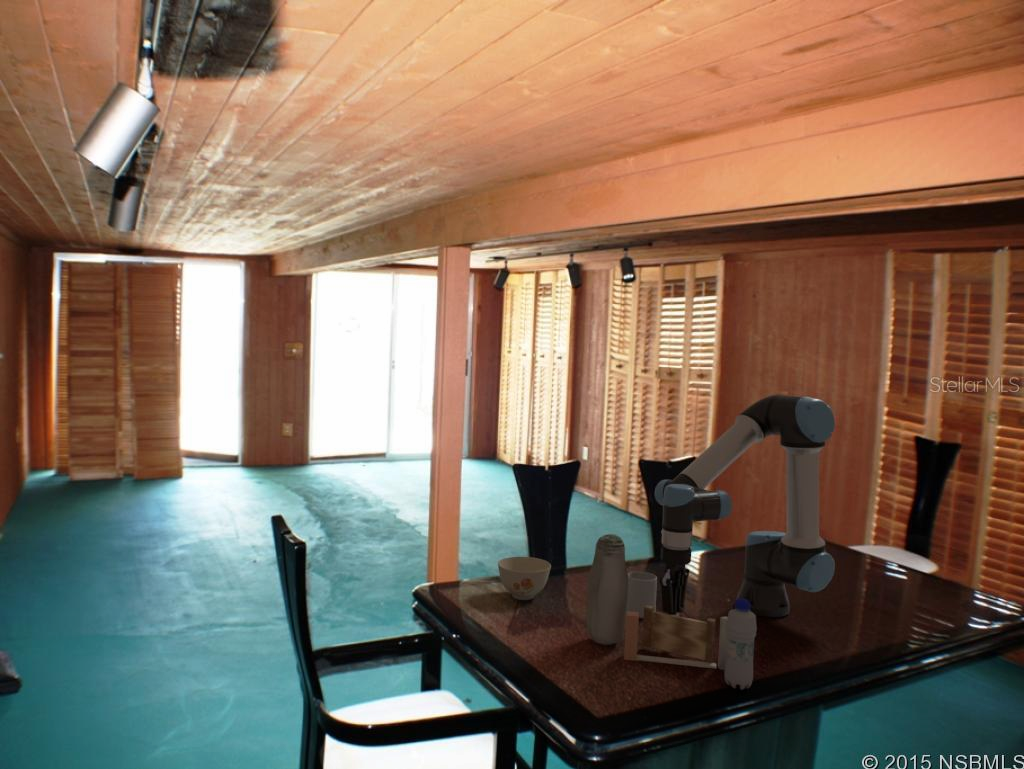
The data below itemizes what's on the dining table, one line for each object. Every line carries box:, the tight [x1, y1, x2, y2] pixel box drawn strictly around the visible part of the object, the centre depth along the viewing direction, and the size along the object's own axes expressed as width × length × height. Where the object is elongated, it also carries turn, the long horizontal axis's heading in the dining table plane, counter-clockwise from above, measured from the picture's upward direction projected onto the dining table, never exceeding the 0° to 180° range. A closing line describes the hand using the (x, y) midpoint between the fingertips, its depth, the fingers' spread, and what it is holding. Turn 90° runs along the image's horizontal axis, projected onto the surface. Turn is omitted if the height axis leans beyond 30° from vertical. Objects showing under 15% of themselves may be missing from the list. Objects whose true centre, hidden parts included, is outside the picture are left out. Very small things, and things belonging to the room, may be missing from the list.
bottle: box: [723, 598, 758, 690], centre depth 172 cm, size 7×7×20 cm
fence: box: [623, 611, 728, 671], centre depth 183 cm, size 26×3×12 cm, turn 80°
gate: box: [641, 605, 716, 663], centre depth 187 cm, size 18×2×10 cm, turn 62°
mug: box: [627, 571, 658, 619], centre depth 218 cm, size 12×8×11 cm
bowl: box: [497, 556, 552, 601], centre depth 227 cm, size 16×16×10 cm
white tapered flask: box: [585, 533, 629, 646], centre depth 194 cm, size 10×10×28 cm
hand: (671, 637), depth 192 cm, fingers closed
